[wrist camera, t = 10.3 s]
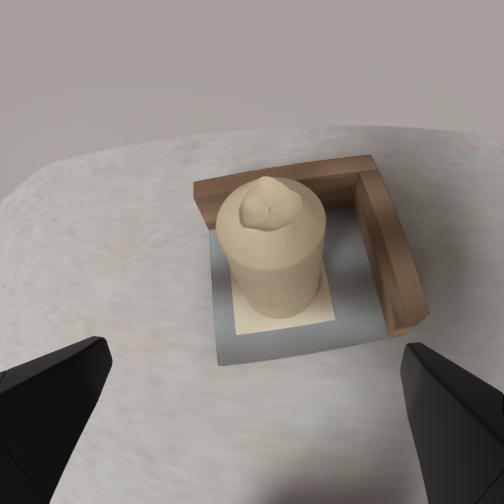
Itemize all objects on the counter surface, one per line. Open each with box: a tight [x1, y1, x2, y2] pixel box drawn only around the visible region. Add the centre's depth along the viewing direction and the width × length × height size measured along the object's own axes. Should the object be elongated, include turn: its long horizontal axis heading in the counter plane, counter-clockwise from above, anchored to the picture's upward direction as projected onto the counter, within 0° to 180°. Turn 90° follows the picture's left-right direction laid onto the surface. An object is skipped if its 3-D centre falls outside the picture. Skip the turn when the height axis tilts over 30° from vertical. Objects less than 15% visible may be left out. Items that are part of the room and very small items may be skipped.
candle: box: [216, 176, 326, 319], centre depth 19 cm, size 6×6×10 cm
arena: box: [194, 155, 429, 366], centre depth 22 cm, size 12×14×5 cm
